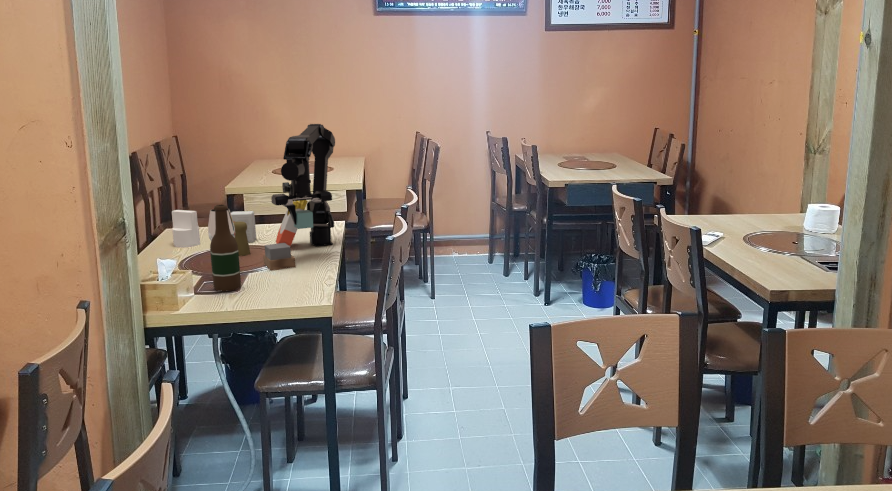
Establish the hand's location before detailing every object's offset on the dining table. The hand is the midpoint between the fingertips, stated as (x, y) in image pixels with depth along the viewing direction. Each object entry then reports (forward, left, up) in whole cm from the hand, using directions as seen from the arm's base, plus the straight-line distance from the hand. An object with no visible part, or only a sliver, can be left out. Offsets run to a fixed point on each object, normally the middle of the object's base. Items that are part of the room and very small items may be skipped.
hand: (303, 223), depth 251 cm
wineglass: (+28, +9, -11) cm, 31 cm away
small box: (+13, -34, -11) cm, 38 cm away
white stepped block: (+32, -39, -11) cm, 51 cm away
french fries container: (+3, -17, -11) cm, 20 cm away
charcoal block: (+11, +7, -8) cm, 15 cm away
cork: (+18, -15, -11) cm, 26 cm away
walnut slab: (+10, +7, -12) cm, 17 cm away
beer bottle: (+30, +24, -11) cm, 40 cm away
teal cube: (0, 0, -1) cm, 1 cm away
